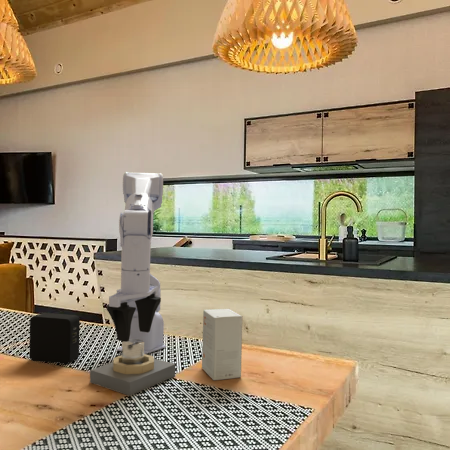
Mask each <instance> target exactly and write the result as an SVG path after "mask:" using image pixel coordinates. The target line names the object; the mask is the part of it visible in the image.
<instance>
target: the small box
mask: <svg viewBox="0 0 450 450" xmlns="http://www.w3.org/2000/svg"><path fill="white" fill-rule="evenodd" d="M202 314H203V317H202V349H201V352H202V353H201V356H202V357H201V368H202V370H203V371H204V372H205V373H206V374H207V375H208V376H209V377H210V378H211V379H212V381H220V380H231V379H238V378H241V377H242V359H243V358H242V353H243V351H242V349H243V315H241V314H239V313H238V312H236V311H233V310H232V309H230V308H216V309H213V308H212V309H211V308H210V309H203V313H202Z"/></svg>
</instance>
